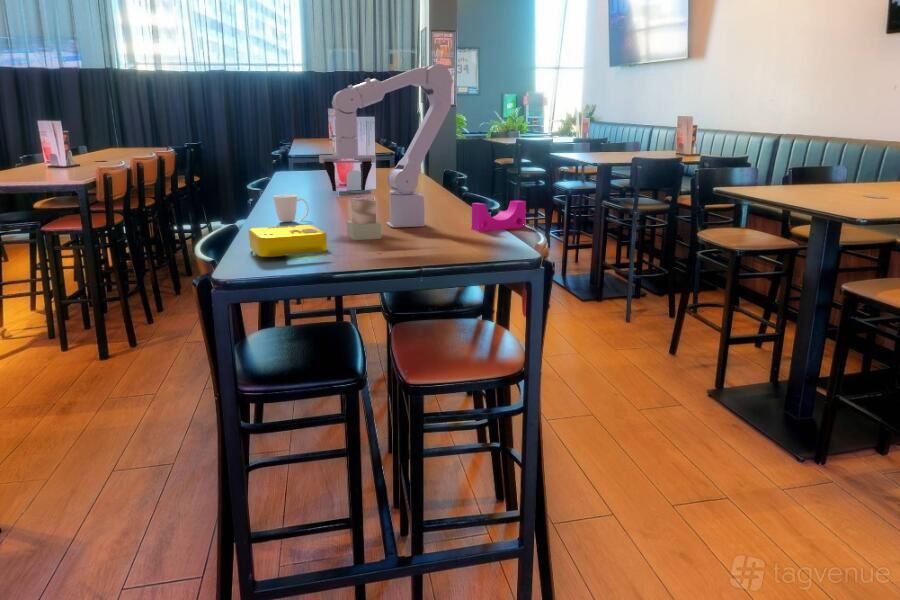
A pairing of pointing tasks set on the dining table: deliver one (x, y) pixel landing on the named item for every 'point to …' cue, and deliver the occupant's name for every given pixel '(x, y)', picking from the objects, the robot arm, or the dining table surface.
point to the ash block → (363, 211)
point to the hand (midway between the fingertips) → (348, 190)
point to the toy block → (498, 217)
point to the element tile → (287, 240)
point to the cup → (287, 207)
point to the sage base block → (363, 230)
